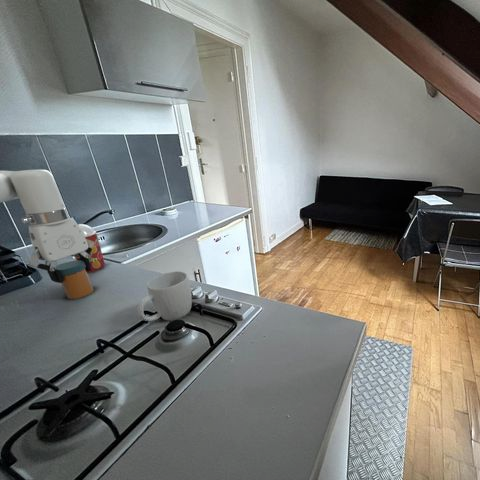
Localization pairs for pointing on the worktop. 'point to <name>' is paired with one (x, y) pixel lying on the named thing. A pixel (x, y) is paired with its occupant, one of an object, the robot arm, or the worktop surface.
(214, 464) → the worktop surface
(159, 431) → the worktop surface
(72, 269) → the jar lid
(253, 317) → the worktop surface
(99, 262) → the smoothie
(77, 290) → the jam jar
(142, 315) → the mug
